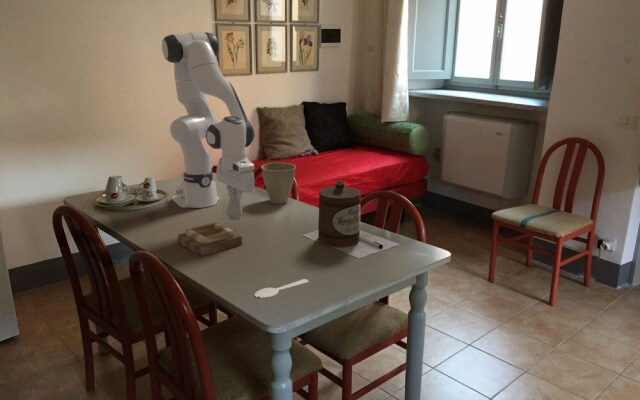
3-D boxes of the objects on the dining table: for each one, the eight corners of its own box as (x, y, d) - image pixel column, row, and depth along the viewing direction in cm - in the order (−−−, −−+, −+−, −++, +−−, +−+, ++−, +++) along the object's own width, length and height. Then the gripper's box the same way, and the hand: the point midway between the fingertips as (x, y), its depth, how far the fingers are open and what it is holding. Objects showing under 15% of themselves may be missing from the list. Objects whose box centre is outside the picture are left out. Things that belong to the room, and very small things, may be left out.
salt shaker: (232, 222, 194) (232, 188, 191) (223, 217, 198) (223, 184, 195) (245, 219, 198) (245, 186, 194) (237, 215, 202) (237, 182, 198)
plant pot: (256, 204, 230) (255, 168, 225) (271, 195, 243) (270, 161, 238) (287, 208, 224) (286, 171, 220) (301, 198, 238) (301, 164, 233)
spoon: (313, 284, 156) (313, 282, 156) (260, 301, 146) (260, 299, 145) (302, 277, 160) (303, 276, 160) (250, 293, 150) (250, 292, 150)
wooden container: (341, 251, 180) (342, 189, 173) (309, 240, 189) (309, 181, 183) (367, 239, 190) (369, 180, 184) (336, 229, 200) (337, 173, 193)
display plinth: (178, 242, 186) (177, 229, 184) (218, 232, 196) (217, 219, 195) (201, 256, 174) (200, 242, 173) (242, 244, 185) (241, 231, 183)
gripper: (211, 157, 197) (212, 192, 201) (242, 169, 183) (242, 206, 187) (226, 155, 201) (226, 189, 205) (257, 166, 187) (257, 203, 191)
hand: (234, 197), depth 196 cm, fingers closed on salt shaker, 3 cm apart
